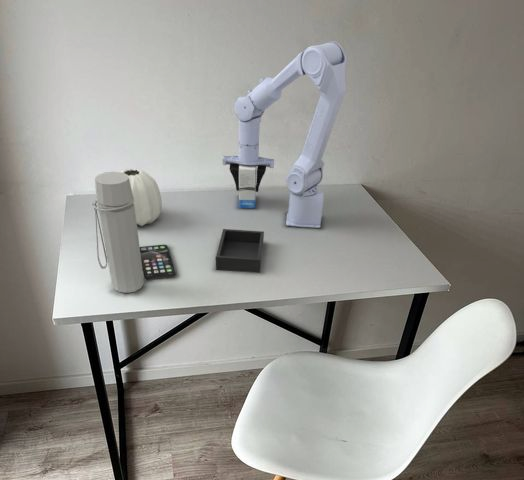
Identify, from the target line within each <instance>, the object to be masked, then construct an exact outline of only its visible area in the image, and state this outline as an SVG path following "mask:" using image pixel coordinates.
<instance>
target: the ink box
mask: <svg viewBox="0 0 524 480" xmlns="http://www.w3.org/2000/svg"><path fill="white" fill-rule="evenodd" d="M256 183H257V166H256V165H242V164H239V191H238V208H239V209H256V200H257V199H256V197H257V192H256Z"/></svg>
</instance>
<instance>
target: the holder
mask: <svg viewBox="0 0 524 480" xmlns="http://www.w3.org/2000/svg"><path fill="white" fill-rule="evenodd" d="M264 238H265V231H264V230H263V231H260V230H244V229H233V228H232V229H230V228H222V231H221V235H220V239H219V243H218V246H217V251H216V255H215V269H216V271H227V272H230V271H231V272H243V273H245V272H246V273H256V274H257V273H261V266H262V260H263V259H262V258H263V251H264V240H265V239H264Z"/></svg>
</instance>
